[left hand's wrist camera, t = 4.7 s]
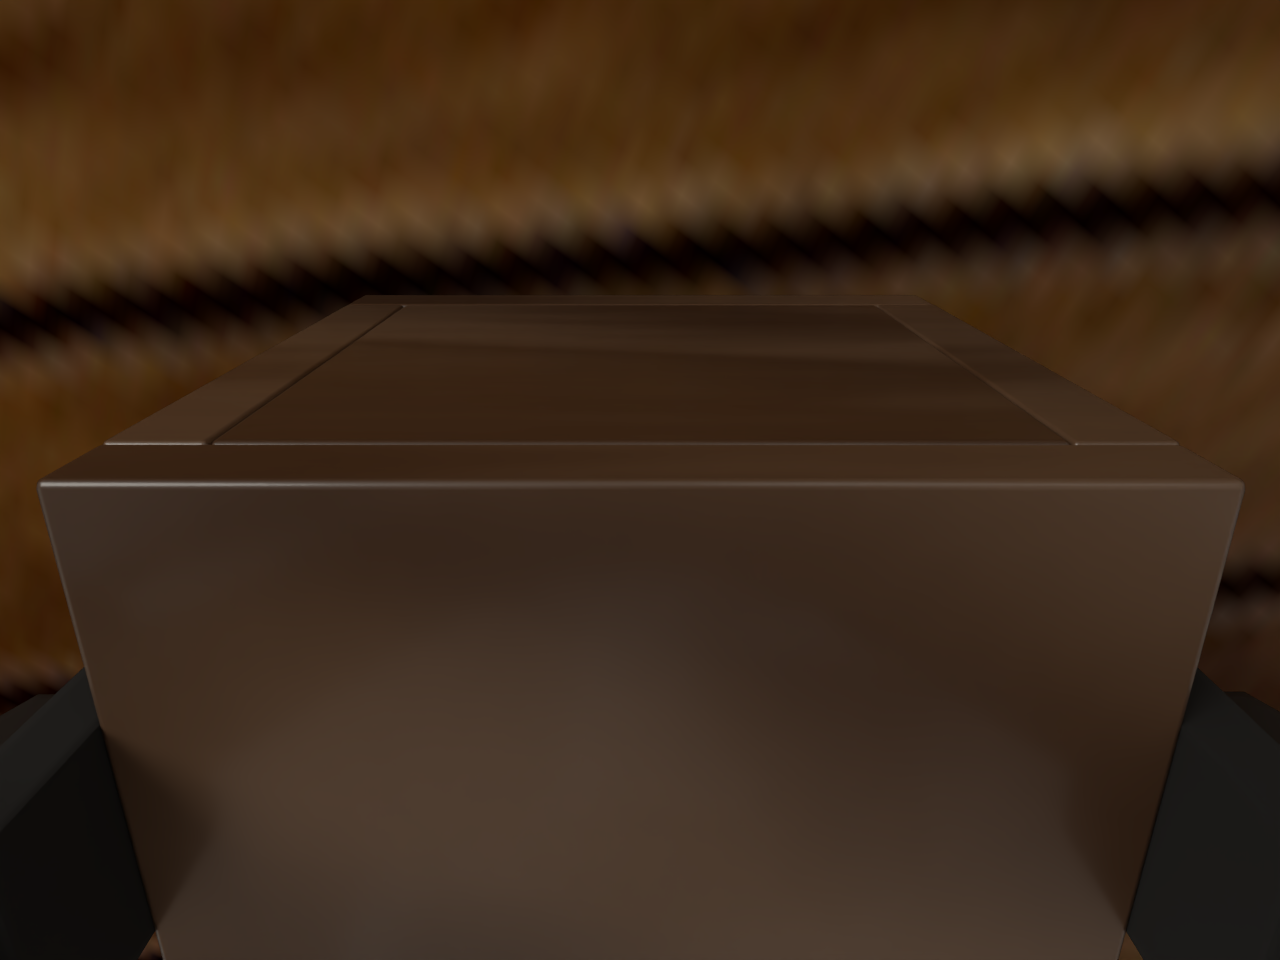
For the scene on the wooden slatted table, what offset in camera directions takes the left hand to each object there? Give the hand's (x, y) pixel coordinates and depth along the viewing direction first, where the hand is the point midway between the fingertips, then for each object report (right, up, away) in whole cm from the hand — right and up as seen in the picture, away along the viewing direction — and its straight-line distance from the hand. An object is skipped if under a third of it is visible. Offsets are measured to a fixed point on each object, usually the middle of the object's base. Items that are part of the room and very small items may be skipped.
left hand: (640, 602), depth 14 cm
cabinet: (0, -3, +6) cm, 7 cm away
